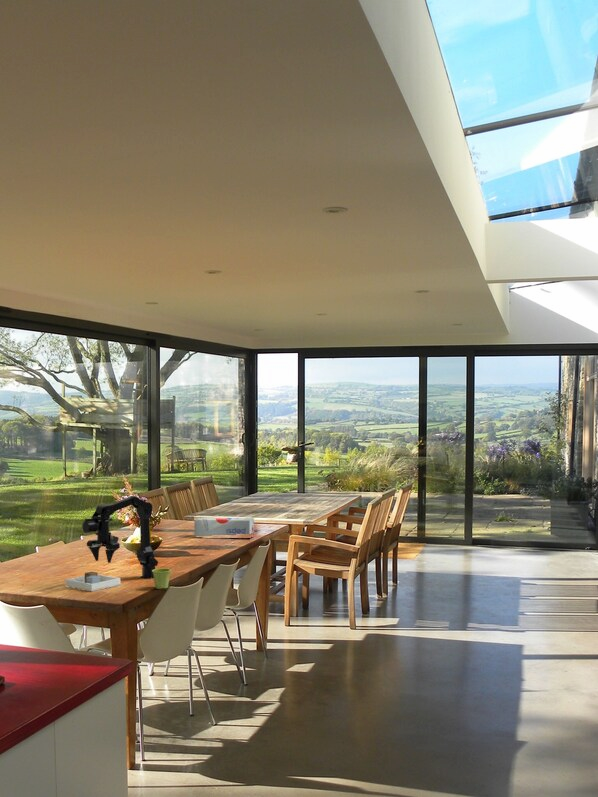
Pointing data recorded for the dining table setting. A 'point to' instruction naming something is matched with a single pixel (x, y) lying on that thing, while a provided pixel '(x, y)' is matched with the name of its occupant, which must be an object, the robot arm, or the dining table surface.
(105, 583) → the grey tray
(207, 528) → the soda pack
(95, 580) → the slate block
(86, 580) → the walnut block
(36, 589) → the dining table surface
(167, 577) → the plant pot
